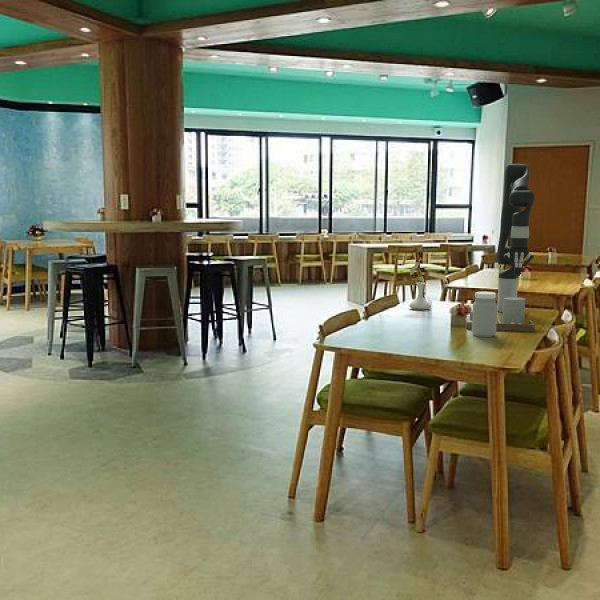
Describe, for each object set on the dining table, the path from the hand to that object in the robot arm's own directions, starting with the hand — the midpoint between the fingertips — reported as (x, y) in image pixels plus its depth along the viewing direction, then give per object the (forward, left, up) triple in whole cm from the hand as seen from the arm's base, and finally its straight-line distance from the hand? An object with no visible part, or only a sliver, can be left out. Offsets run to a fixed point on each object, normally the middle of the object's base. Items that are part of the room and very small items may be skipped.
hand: (517, 275), depth 287 cm
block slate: (-16, -17, -23) cm, 33 cm away
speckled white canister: (-4, 0, -23) cm, 24 cm away
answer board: (+4, -7, -23) cm, 25 cm away
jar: (+22, -15, -23) cm, 35 cm away
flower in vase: (-40, -44, -23) cm, 64 cm away
